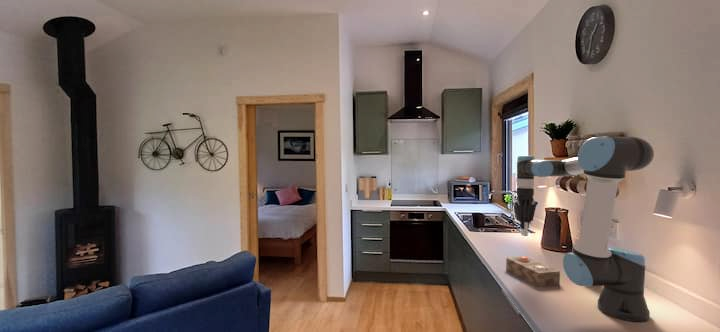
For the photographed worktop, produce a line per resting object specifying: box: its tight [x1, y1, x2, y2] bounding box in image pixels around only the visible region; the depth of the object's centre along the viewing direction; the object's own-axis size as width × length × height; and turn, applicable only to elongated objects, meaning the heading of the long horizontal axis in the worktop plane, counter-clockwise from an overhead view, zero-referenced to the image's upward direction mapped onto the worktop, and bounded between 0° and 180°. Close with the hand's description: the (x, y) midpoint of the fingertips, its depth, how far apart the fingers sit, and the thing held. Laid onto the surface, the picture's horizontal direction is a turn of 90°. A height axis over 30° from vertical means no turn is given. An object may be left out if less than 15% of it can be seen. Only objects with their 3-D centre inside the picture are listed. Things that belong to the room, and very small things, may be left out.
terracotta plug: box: [518, 255, 529, 262], centre depth 164 cm, size 4×4×6 cm
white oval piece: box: [535, 266, 545, 270], centre depth 153 cm, size 4×4×6 cm
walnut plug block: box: [505, 256, 561, 287], centre depth 159 cm, size 22×11×6 cm, turn 13°
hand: (524, 235), depth 163 cm, fingers closed
